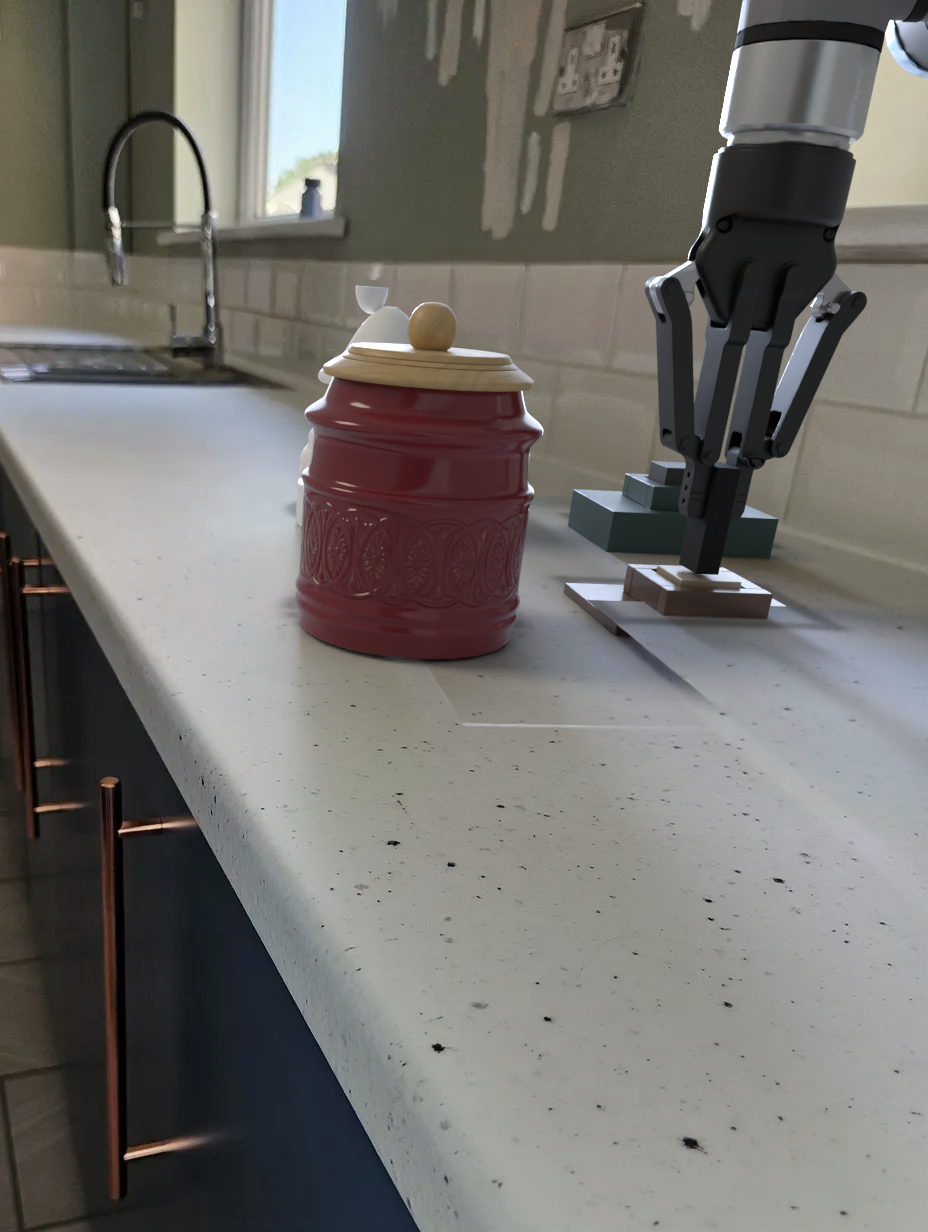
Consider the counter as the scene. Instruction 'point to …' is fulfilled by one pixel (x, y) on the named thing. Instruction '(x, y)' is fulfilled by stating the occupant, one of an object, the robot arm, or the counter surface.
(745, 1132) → the counter surface
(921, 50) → the robot arm
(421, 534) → the kitchen canister
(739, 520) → the tiered step pyramid
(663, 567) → the ivory key
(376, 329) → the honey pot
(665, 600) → the stepped block pedestal
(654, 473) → the ebony key
